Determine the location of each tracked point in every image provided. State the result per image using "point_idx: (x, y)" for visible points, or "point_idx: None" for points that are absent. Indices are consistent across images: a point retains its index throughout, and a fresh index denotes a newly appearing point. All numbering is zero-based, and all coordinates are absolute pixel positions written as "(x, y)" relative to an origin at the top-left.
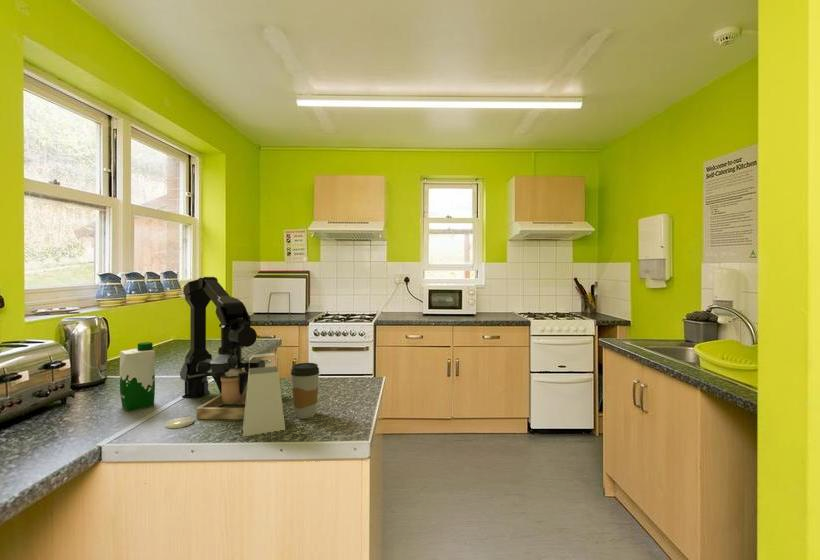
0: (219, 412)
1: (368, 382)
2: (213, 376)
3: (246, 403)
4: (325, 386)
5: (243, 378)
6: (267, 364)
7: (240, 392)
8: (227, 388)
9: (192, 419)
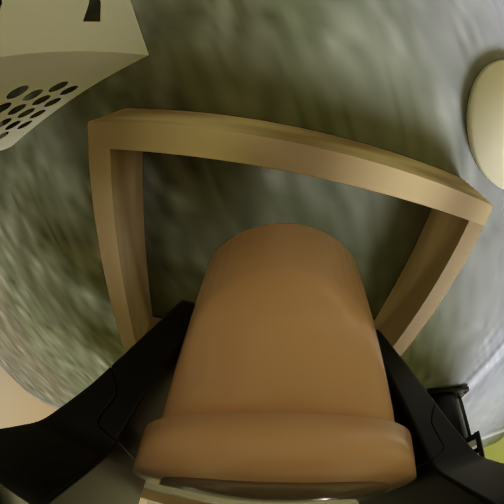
0: (343, 146)
1: (14, 375)
2: (486, 468)
3: (41, 59)
4: (71, 391)
5: (64, 424)
6: (152, 501)
7: (182, 310)
8: (305, 328)
9: (479, 139)
